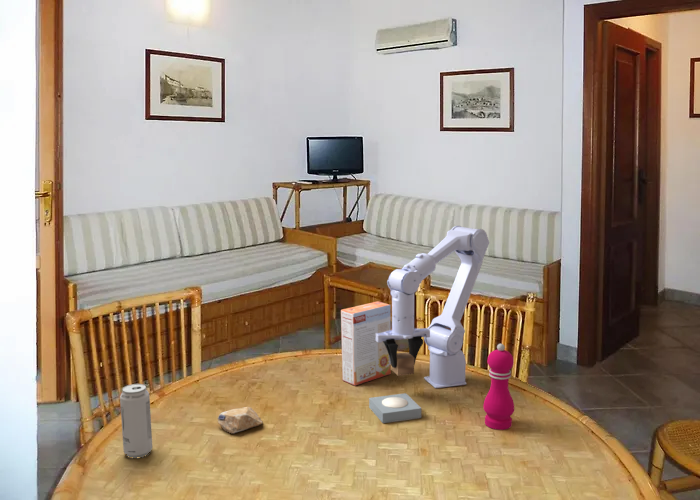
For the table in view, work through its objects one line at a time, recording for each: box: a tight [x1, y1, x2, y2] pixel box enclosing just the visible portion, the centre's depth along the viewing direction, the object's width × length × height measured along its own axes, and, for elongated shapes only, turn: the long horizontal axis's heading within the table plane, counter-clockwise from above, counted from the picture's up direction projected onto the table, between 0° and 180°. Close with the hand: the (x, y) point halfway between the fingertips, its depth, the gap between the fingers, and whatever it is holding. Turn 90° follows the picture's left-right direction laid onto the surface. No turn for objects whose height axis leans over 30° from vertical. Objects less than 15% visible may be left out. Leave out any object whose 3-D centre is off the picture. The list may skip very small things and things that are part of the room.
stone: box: [217, 406, 263, 434], centre depth 160 cm, size 8×10×4 cm
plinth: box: [368, 392, 422, 424], centre depth 168 cm, size 10×10×3 cm
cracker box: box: [340, 301, 392, 387], centre depth 190 cm, size 14×6×21 cm, turn 130°
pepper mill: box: [482, 343, 515, 431], centre depth 159 cm, size 7×7×20 cm
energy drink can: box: [119, 383, 153, 459], centre depth 146 cm, size 6×6×15 cm
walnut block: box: [391, 351, 415, 377], centre depth 177 cm, size 4×4×4 cm
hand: (402, 365), depth 178 cm, fingers closed on walnut block, 4 cm apart
